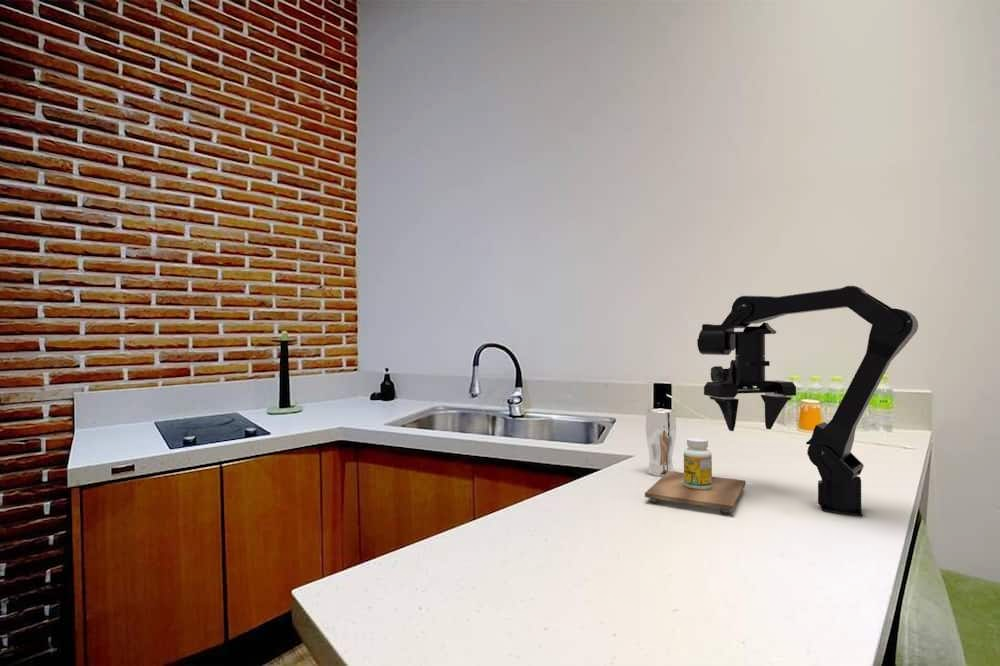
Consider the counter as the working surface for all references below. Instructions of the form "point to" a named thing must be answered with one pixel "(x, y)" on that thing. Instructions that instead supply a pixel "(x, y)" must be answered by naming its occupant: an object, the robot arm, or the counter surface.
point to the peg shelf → (697, 492)
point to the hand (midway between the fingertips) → (750, 429)
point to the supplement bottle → (697, 464)
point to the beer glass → (660, 440)
